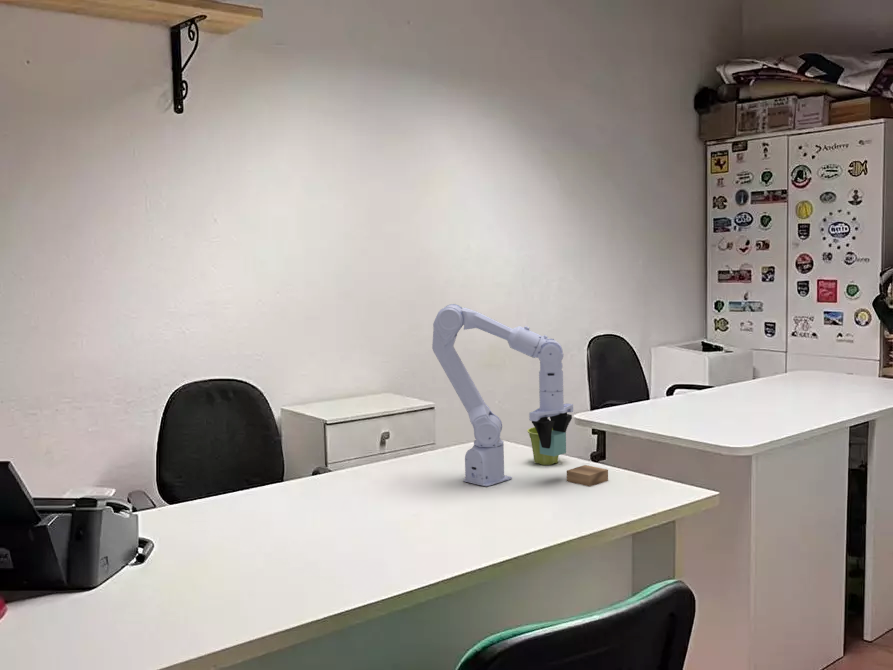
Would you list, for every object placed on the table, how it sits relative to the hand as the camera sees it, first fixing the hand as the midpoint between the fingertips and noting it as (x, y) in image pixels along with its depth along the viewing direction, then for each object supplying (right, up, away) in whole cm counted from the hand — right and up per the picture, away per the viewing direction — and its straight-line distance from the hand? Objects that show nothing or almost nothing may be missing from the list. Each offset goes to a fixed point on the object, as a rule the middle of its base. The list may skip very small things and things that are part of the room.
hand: (552, 445), depth 216 cm
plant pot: (+1, -7, +18) cm, 19 cm away
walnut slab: (+8, -9, -1) cm, 12 cm away
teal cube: (0, -2, 0) cm, 2 cm away
